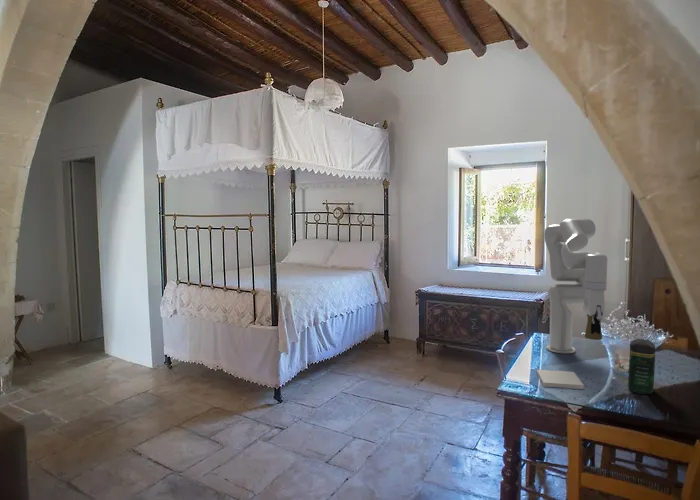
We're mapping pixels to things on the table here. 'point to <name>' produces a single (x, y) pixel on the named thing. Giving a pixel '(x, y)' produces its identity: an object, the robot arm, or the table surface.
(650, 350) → the coffee jar
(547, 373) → the tile
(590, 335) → the cork
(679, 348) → the table surface
